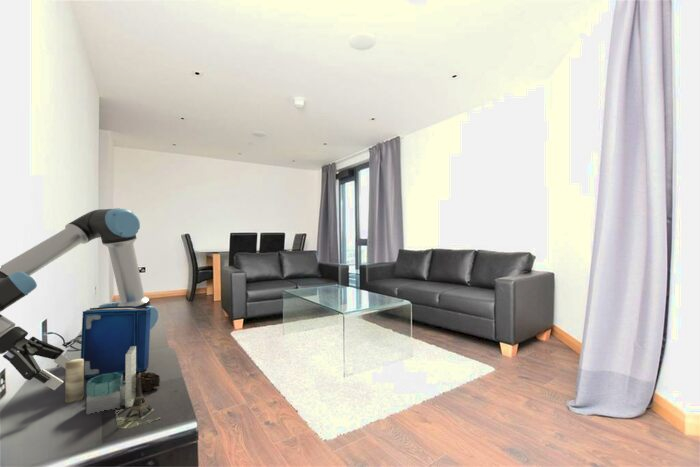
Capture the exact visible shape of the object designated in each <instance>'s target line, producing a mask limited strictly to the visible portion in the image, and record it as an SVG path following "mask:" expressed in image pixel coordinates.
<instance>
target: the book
mask: <svg viewBox="0 0 700 467" xmlns="http://www.w3.org/2000/svg"><path fill="white" fill-rule="evenodd" d="M150 317H151V308H150V307H135V306H111V307H99V306H98V307H89V309H85V310H84V311H83V310H82V319H81V320H82V322H81V341H80V342H81V345H80V346H81V347H80V359H84V379H91V378H94V377H96V376H99V375H101V374H107V373H113V372H117V373H122V374H125V372H126V353H127V352H128V350H129V348H130V347H132V346H136V373H140V372H143V371H144V372H145V370H147V369H148V368H149V363H150V360H149V359H150V340H151V339H150V338H151V337H150V336H151V335H150V334H151V330H150Z"/></svg>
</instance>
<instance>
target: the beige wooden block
mask: <svg viewBox="0 0 700 467" xmlns="http://www.w3.org/2000/svg"><path fill="white" fill-rule="evenodd" d="M64 374H65V378H64V379H65V381H64V382H65V385H64V387H65V389H64V390H65V391H64V393H65V394H64V395H65V396H64V398H65V399H64V402H65V403H67V404H68V403H69V404H70V403H74V402H75V403H76V402H78V401H81V400H82V399H83V398H84V394H85V392H84V391H85V390H84V388H85V387H84V384H85V378H84V359H81V358H75V359H71V360H70V361H68V362H66V369H65V373H64Z"/></svg>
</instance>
